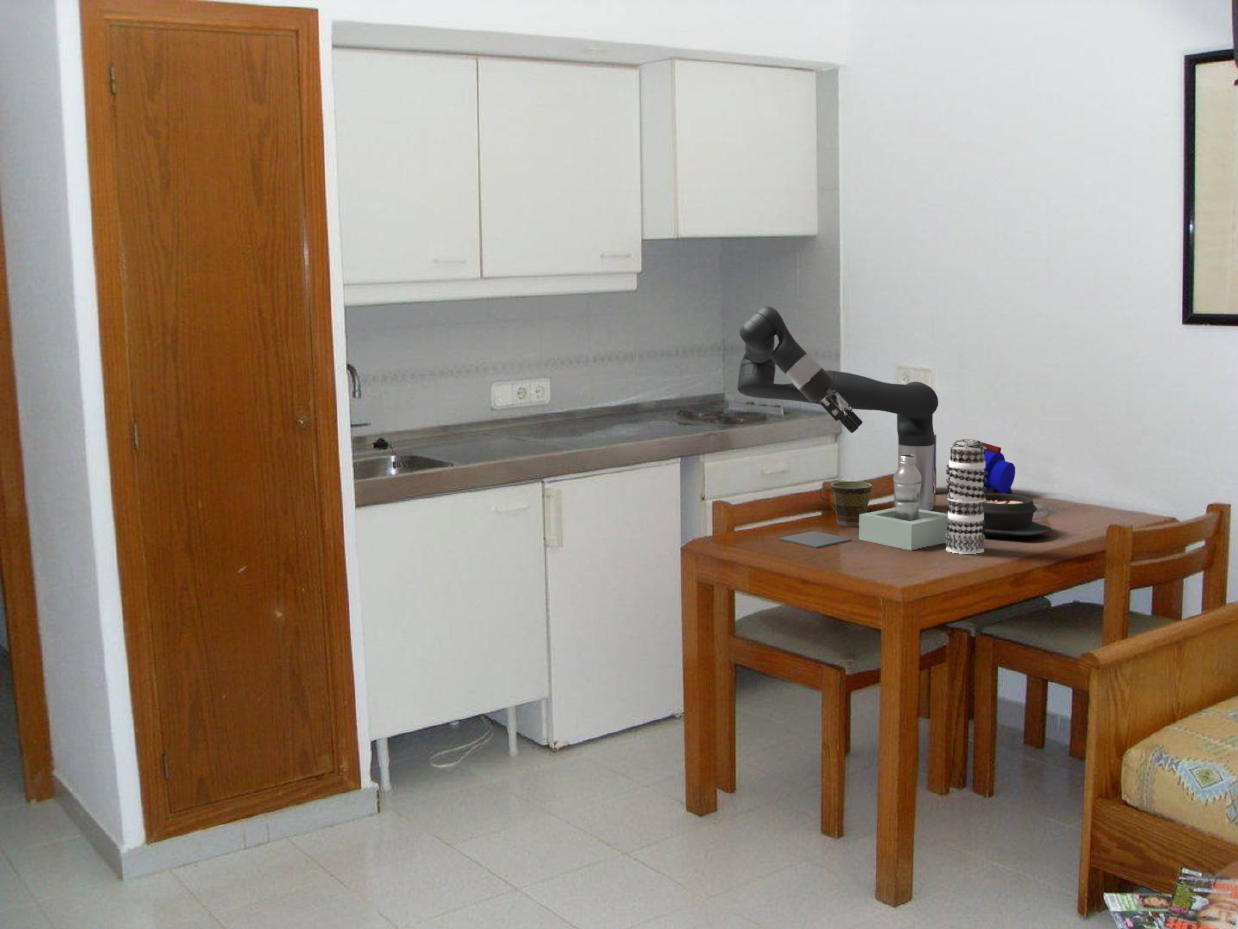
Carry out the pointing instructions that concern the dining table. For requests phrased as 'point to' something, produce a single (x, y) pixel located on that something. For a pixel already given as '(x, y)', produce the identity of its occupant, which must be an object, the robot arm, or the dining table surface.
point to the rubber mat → (815, 539)
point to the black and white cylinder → (966, 497)
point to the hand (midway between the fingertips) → (857, 428)
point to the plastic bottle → (907, 489)
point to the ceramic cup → (849, 501)
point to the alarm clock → (997, 471)
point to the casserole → (1010, 516)
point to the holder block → (903, 529)
